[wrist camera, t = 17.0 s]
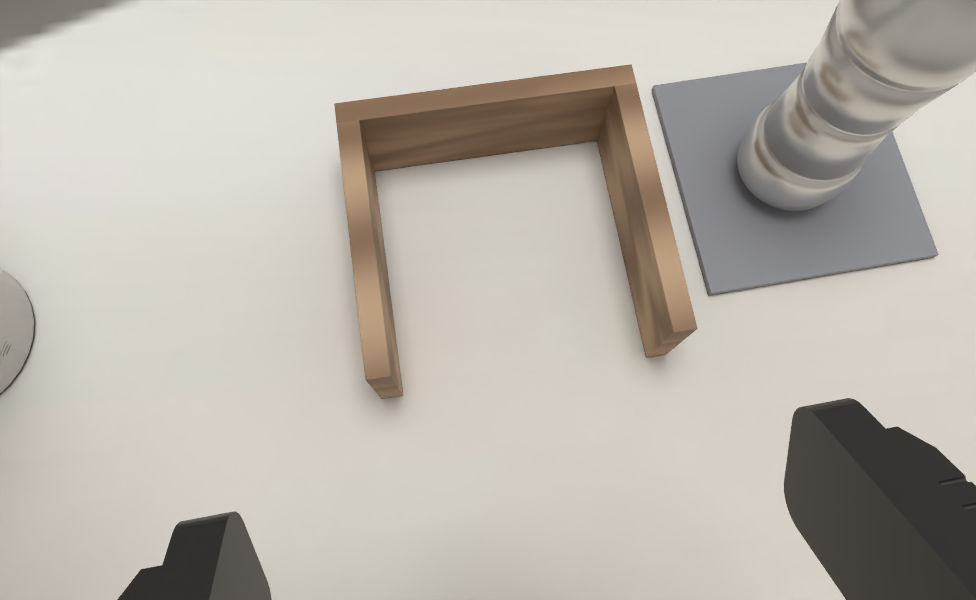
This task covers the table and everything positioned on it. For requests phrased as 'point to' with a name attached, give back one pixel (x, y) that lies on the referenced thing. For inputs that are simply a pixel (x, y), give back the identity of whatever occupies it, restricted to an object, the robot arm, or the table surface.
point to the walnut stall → (504, 129)
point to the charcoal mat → (765, 229)
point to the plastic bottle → (855, 96)
